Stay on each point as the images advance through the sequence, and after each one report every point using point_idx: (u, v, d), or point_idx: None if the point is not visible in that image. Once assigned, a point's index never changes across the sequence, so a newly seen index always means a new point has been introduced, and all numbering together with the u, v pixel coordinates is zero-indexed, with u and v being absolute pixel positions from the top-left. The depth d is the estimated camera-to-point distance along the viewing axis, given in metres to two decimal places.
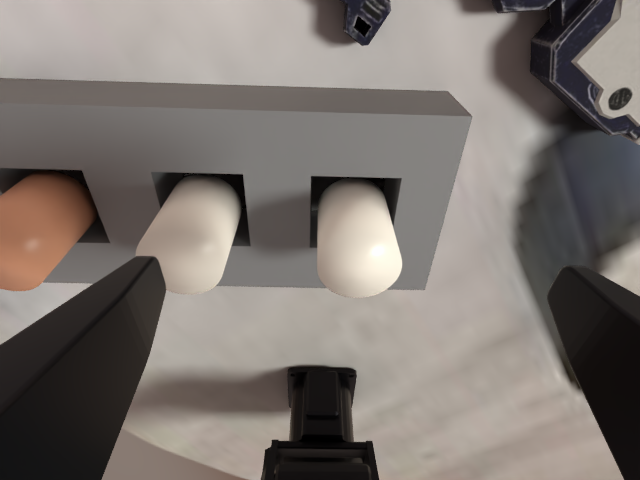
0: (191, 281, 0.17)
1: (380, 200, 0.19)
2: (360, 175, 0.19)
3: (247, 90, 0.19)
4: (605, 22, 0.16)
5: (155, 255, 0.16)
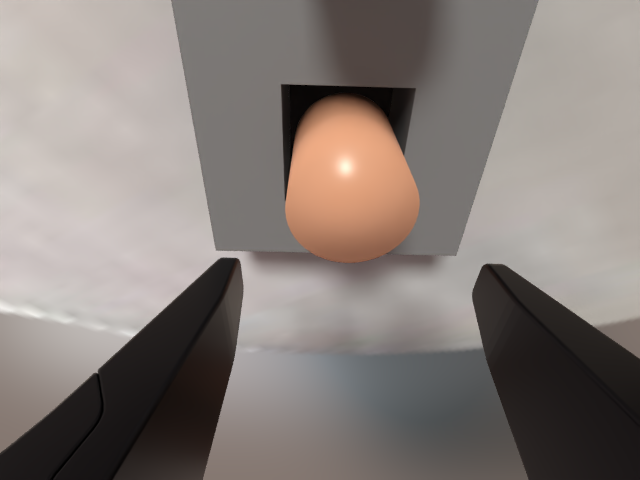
0: None
1: None
2: None
3: None
4: None
5: None
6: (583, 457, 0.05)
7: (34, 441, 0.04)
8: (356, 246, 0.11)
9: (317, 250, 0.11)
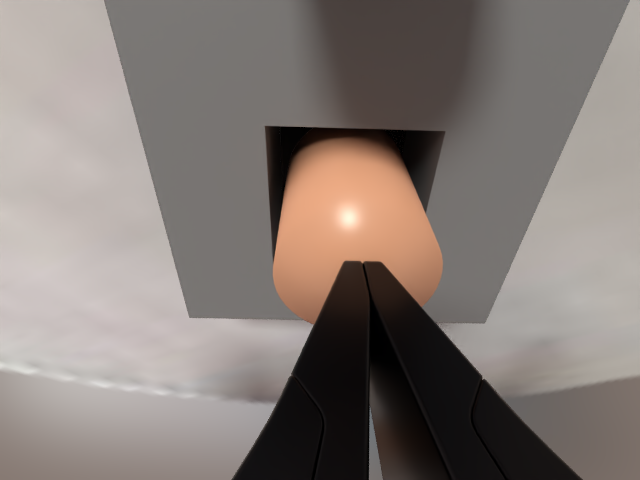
0: None
1: None
2: None
3: None
4: None
5: None
6: (404, 455, 0.05)
7: (274, 444, 0.04)
8: None
9: (313, 318, 0.09)
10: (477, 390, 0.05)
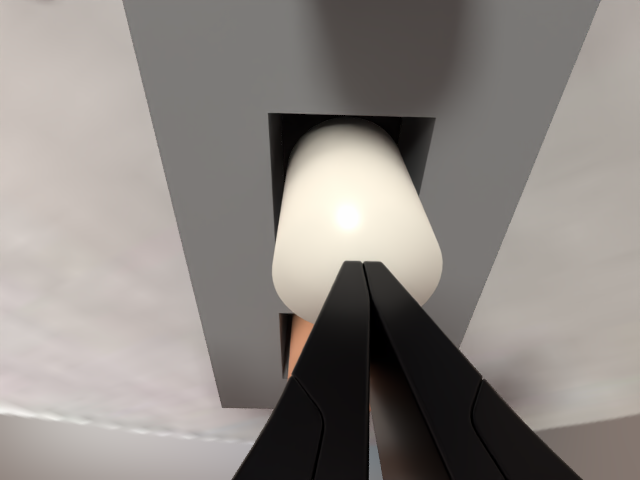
0: (405, 265, 0.08)
1: None
2: None
3: None
4: None
5: None
6: (404, 454, 0.05)
7: (274, 445, 0.04)
8: None
9: None
10: (477, 390, 0.05)
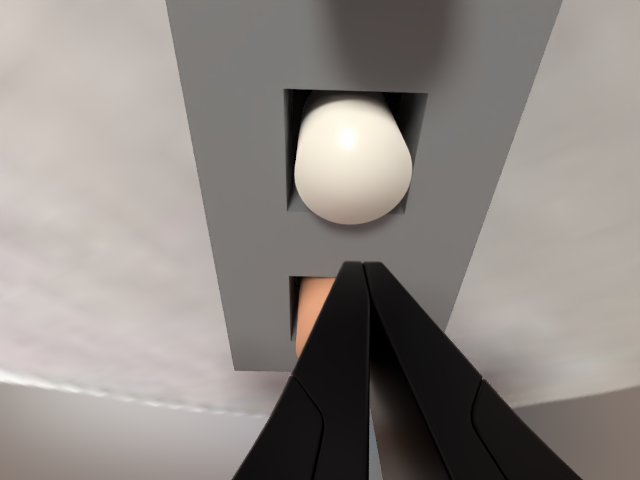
0: (386, 167, 0.12)
1: None
2: None
3: None
4: None
5: (336, 201, 0.13)
6: (404, 454, 0.05)
7: (274, 445, 0.04)
8: None
9: None
10: (477, 390, 0.05)
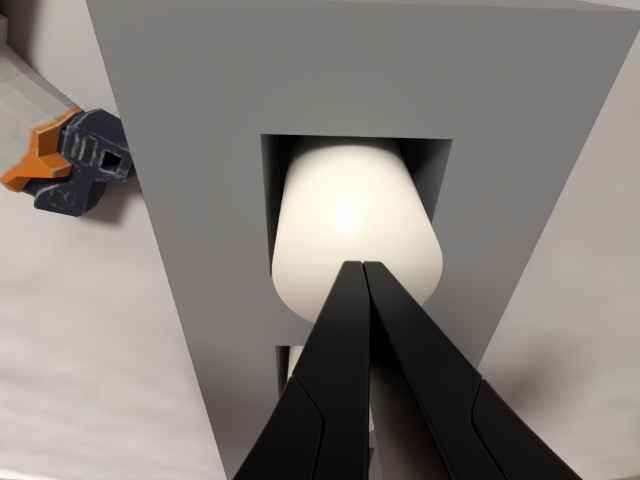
0: None
1: (298, 157, 0.10)
2: (262, 208, 0.10)
3: None
4: None
5: None
6: (404, 455, 0.05)
7: (273, 445, 0.04)
8: None
9: None
10: (477, 390, 0.05)
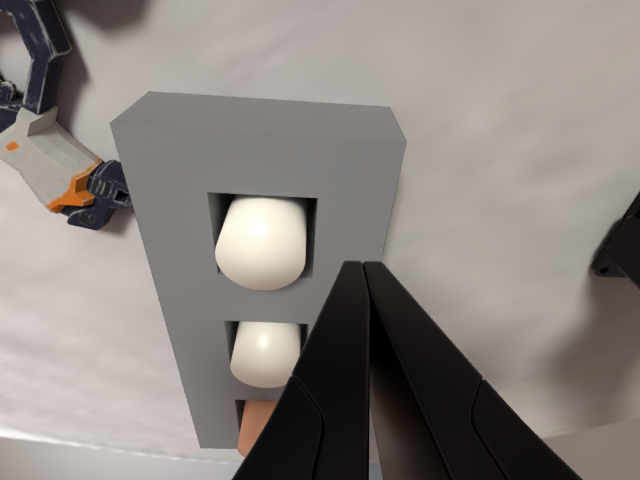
0: (283, 365, 0.20)
1: None
2: (210, 233, 0.17)
3: None
4: None
5: (257, 378, 0.21)
6: (403, 455, 0.05)
7: (274, 444, 0.04)
8: None
9: None
10: (477, 390, 0.05)
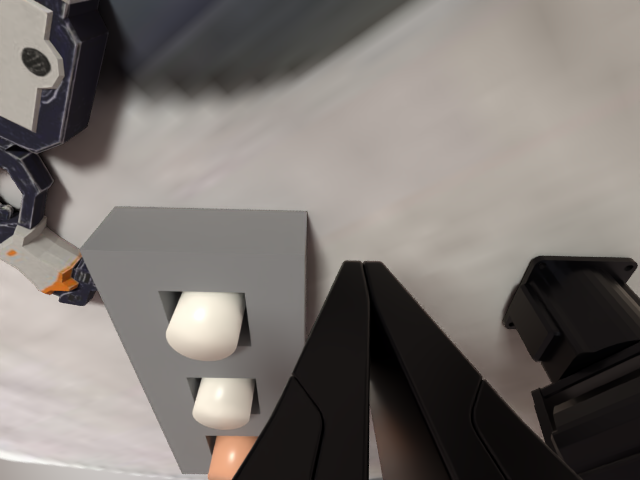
0: (236, 413, 0.25)
1: None
2: (165, 317, 0.21)
3: None
4: None
5: (216, 423, 0.26)
6: (404, 455, 0.05)
7: (274, 444, 0.04)
8: None
9: None
10: (477, 390, 0.05)
